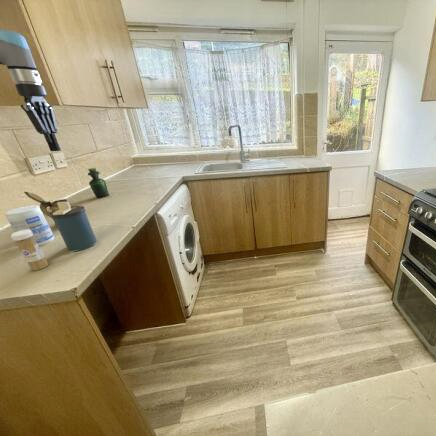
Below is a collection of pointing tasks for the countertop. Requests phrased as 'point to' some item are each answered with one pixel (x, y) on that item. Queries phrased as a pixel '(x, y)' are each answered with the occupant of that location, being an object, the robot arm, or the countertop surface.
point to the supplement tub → (31, 223)
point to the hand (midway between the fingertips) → (55, 150)
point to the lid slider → (62, 208)
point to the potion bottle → (97, 184)
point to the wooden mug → (46, 204)
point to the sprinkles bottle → (30, 249)
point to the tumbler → (75, 229)
